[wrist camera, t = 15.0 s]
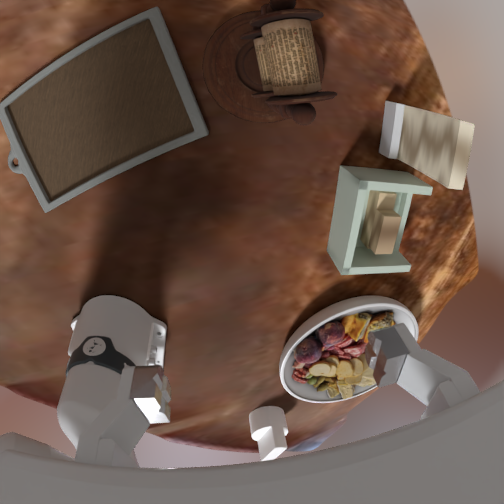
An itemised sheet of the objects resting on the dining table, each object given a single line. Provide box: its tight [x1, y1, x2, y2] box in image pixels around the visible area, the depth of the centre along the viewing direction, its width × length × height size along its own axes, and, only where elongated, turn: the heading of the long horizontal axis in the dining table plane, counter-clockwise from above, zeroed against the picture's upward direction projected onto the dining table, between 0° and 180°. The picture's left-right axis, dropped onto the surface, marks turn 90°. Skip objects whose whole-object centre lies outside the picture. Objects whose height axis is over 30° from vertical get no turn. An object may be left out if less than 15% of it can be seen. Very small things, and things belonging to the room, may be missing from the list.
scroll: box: [203, 0, 337, 125], centre depth 27 cm, size 15×15×20 cm
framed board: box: [0, 7, 209, 213], centre depth 35 cm, size 19×2×30 cm
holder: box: [379, 101, 428, 159], centre depth 40 cm, size 8×6×3 cm
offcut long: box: [360, 190, 397, 249], centre depth 45 cm, size 9×3×3 cm, turn 177°
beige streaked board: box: [397, 105, 475, 190], centre depth 35 cm, size 8×2×14 cm, turn 178°
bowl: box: [279, 295, 418, 403], centre depth 60 cm, size 30×30×8 cm
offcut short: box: [368, 209, 402, 254], centre depth 44 cm, size 6×3×2 cm, turn 177°
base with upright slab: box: [249, 406, 288, 461], centre depth 69 cm, size 9×9×12 cm
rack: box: [327, 165, 433, 275], centre depth 45 cm, size 14×12×7 cm
